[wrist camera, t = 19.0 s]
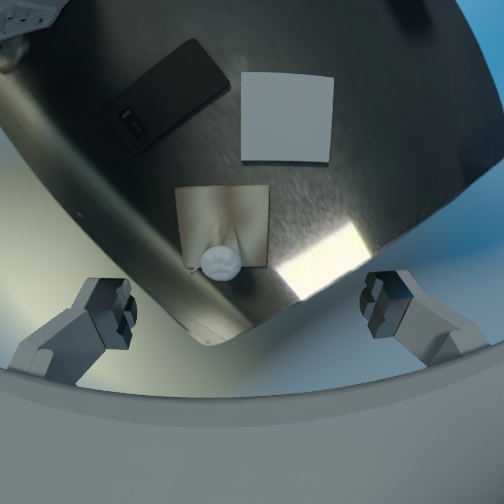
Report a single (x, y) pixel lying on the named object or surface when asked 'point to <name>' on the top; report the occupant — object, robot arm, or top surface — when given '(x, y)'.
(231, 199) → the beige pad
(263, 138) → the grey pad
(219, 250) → the milkshake
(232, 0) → the top surface
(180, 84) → the phone
